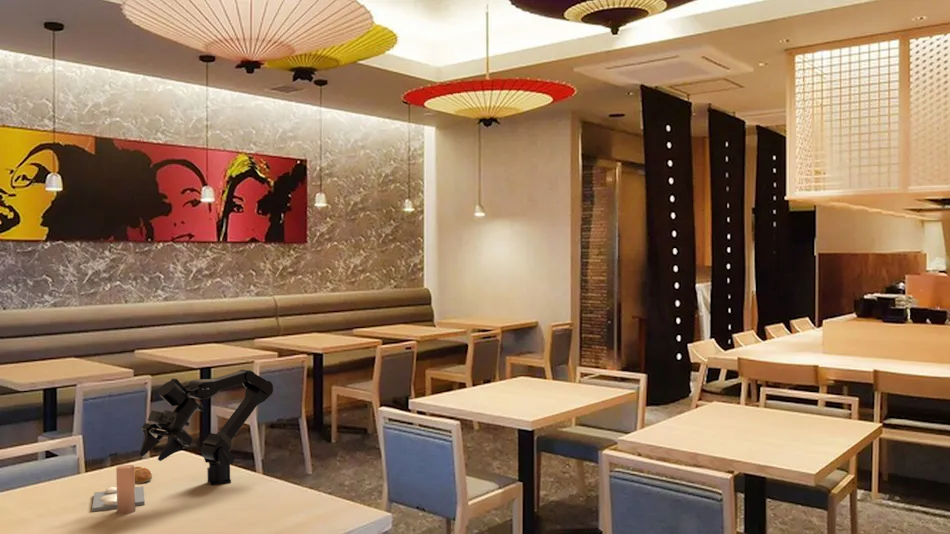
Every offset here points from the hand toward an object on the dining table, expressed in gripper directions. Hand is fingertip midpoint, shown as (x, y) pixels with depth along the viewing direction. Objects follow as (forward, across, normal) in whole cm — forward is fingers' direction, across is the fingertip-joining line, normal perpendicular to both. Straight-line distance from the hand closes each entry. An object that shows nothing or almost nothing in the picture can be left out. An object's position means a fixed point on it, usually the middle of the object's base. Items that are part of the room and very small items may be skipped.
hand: (149, 458), depth 229 cm
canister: (+15, 0, +4) cm, 16 cm away
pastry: (+1, -25, +19) cm, 31 cm away
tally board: (+12, -11, +7) cm, 18 cm away
